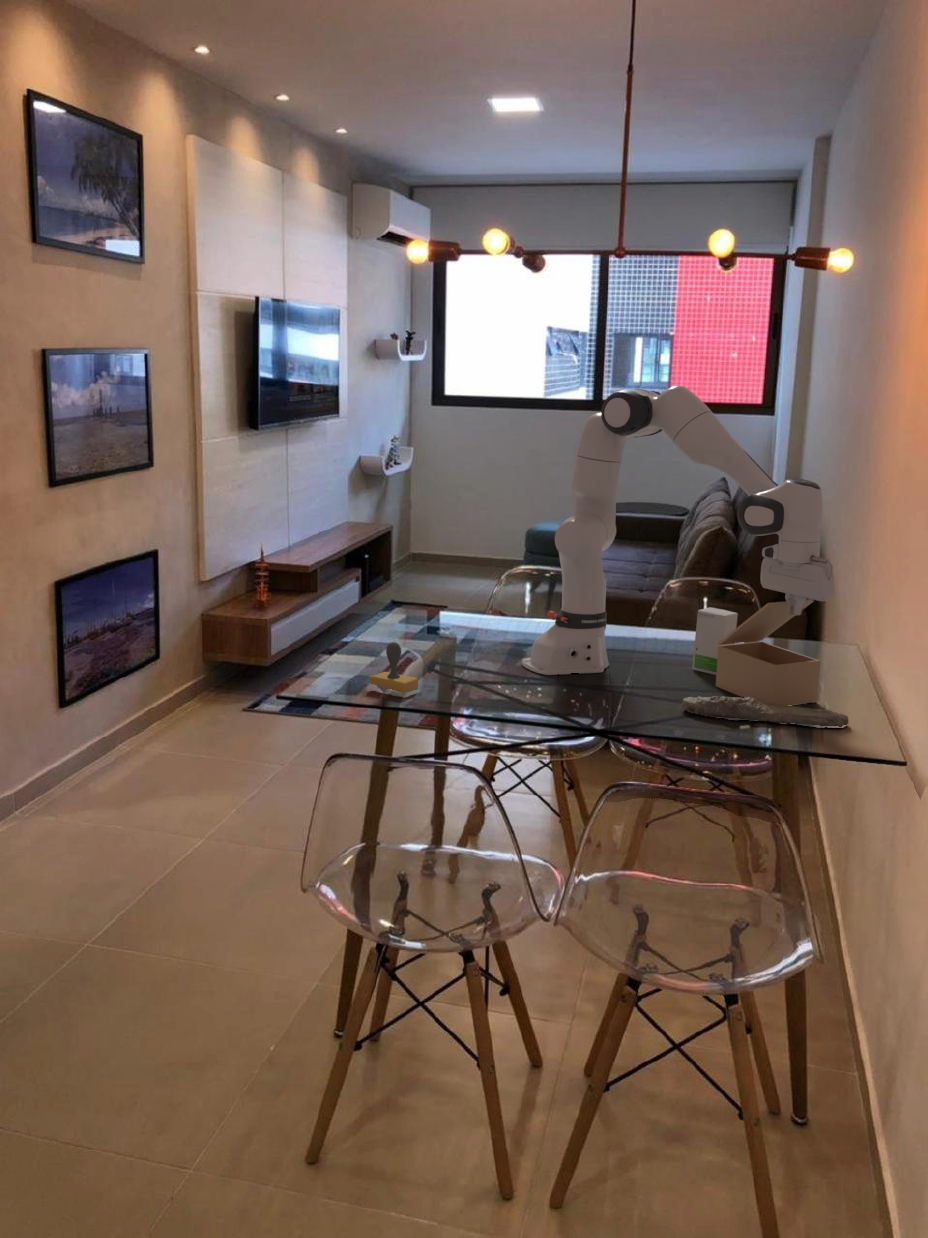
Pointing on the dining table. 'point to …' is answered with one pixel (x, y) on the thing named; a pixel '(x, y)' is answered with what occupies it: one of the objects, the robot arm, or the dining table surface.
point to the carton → (767, 673)
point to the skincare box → (711, 637)
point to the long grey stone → (761, 711)
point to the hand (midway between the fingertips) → (794, 614)
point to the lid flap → (761, 623)
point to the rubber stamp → (394, 673)
